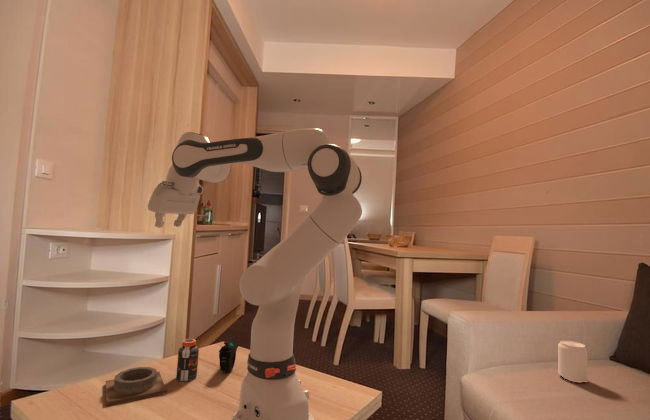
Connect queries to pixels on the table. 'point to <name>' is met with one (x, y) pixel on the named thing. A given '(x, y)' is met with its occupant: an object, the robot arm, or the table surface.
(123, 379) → the holder
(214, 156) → the robot arm
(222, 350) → the controller
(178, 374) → the pill bottle
